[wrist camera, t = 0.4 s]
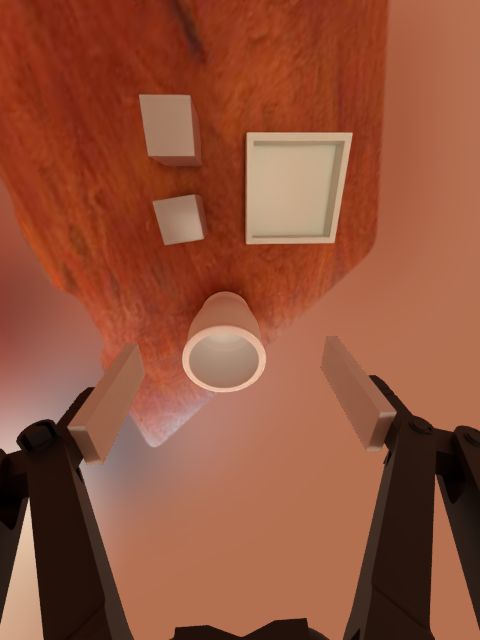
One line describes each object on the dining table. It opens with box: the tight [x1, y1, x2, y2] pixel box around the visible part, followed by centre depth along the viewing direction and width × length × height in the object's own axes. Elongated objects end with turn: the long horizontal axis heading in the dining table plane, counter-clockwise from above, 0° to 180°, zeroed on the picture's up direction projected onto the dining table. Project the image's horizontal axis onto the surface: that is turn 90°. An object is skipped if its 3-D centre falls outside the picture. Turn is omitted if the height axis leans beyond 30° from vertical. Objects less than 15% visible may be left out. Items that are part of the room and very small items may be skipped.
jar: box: [182, 292, 266, 392], centre depth 36 cm, size 11×10×15 cm
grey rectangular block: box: [152, 194, 209, 245], centre depth 32 cm, size 5×5×8 cm
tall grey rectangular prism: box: [139, 95, 202, 166], centre depth 28 cm, size 5×5×8 cm
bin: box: [245, 132, 353, 244], centre depth 33 cm, size 13×13×4 cm
